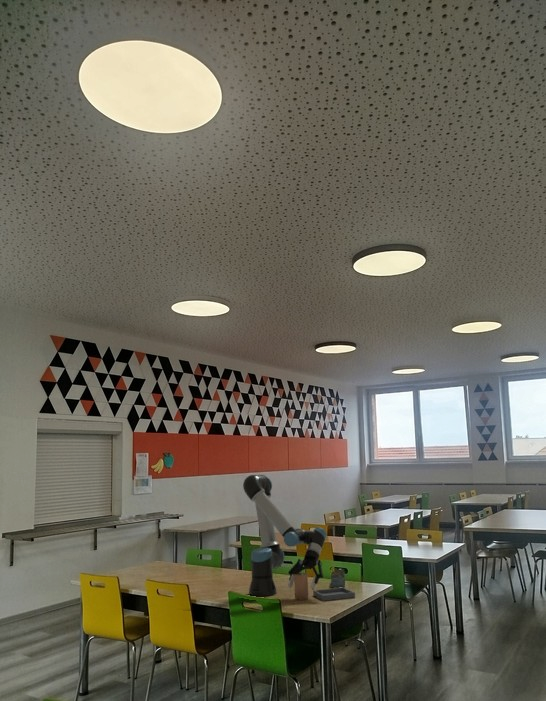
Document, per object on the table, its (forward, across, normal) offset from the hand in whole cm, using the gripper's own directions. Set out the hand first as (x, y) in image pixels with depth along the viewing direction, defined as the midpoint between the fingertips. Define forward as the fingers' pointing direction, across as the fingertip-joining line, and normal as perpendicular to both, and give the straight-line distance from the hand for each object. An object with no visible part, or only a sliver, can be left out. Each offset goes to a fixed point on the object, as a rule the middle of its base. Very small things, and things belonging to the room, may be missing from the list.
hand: (300, 587), depth 293 cm
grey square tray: (-5, -13, -13) cm, 19 cm away
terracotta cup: (+3, 0, -5) cm, 6 cm away
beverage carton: (-26, -1, -35) cm, 43 cm away
